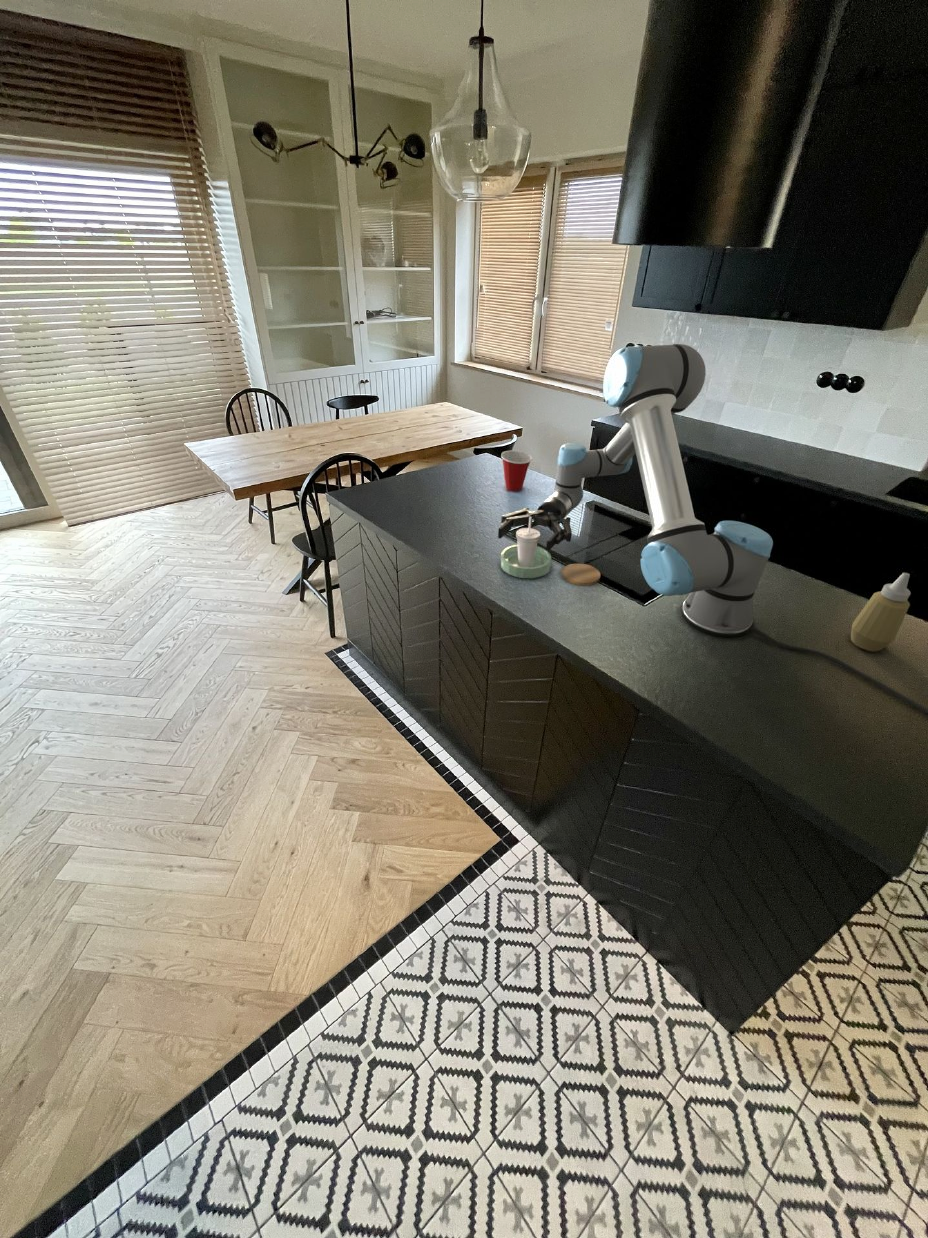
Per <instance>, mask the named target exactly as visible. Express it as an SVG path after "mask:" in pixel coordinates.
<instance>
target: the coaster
mask: <svg viewBox="0 0 928 1238" xmlns="http://www.w3.org/2000/svg"><path fill="white" fill-rule="evenodd" d="M561 577H562V578H563V579H564V580H565V581H566V582H568V583H570V584H573V585H578V586H591V585H595V584H597V583H598V582H599V581H600V579H601V572H600V570H599V569H598V568H596V567H595V566H592V565H589V564H586V563H569V564H567V565H565V566H564V567H563V568H562V570H561Z"/></svg>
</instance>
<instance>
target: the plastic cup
mask: <svg viewBox="0 0 928 1238" xmlns="http://www.w3.org/2000/svg"><path fill="white" fill-rule="evenodd" d="M500 458H501V460H502V465H503V475H504V483H505V484H504V485H505V489H506V490H507V491H510V492H519V491H522V489H523V487H524V484H525V480H526V476H527V473H528V468H529V466H530V464H531V462H532V461H533V456H532V455H531V454H530V453H527V452H525V451H521V450H515V449H514V450H505V451H502V452H501V455H500Z"/></svg>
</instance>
